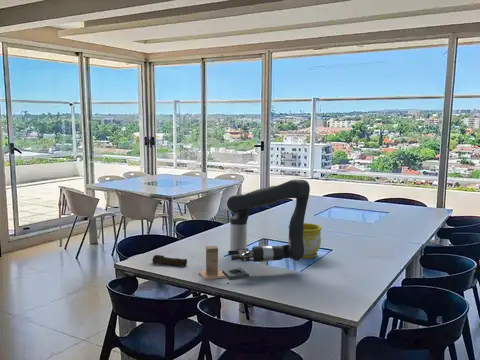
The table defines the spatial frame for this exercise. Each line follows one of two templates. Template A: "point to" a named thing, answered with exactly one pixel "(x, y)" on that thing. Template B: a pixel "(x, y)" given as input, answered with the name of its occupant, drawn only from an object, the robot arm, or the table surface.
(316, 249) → the flowerpot
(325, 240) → the table surface
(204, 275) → the tile
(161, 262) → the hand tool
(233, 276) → the hole plate
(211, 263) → the walnut block
